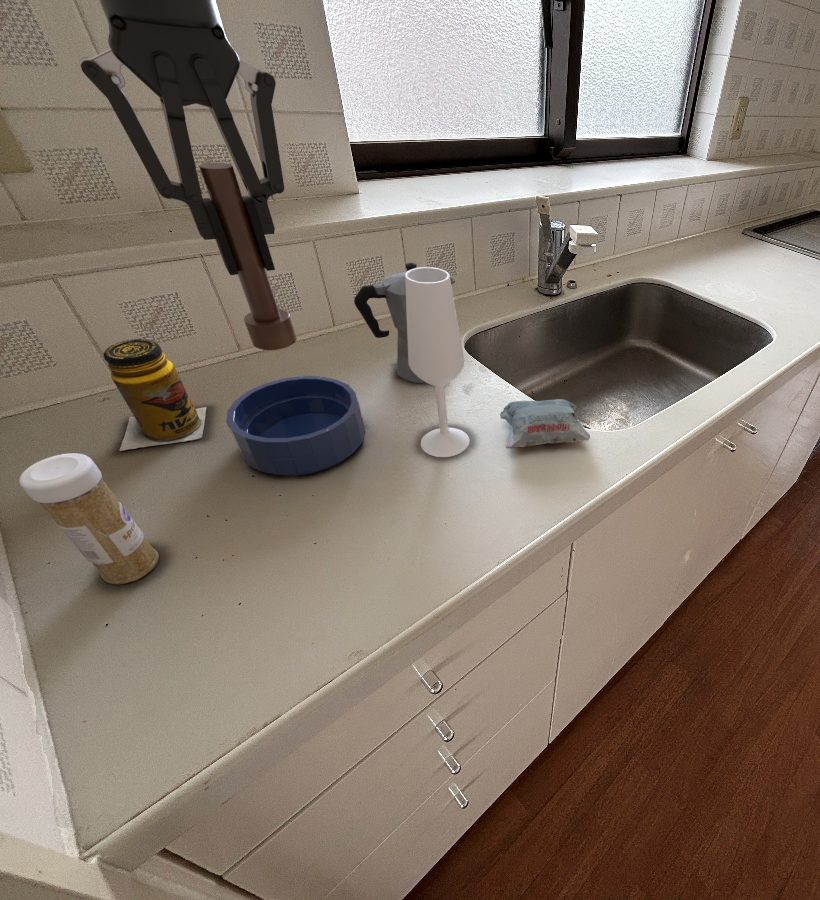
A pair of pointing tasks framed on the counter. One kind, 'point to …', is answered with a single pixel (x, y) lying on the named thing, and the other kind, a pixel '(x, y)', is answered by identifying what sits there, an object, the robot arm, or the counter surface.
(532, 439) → the packaged food
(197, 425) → the condiment
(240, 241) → the muddler
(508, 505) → the counter surface
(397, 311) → the coffeepot
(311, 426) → the bowl
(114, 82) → the robot arm
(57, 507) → the sprinkles bottle
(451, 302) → the champagne flute
